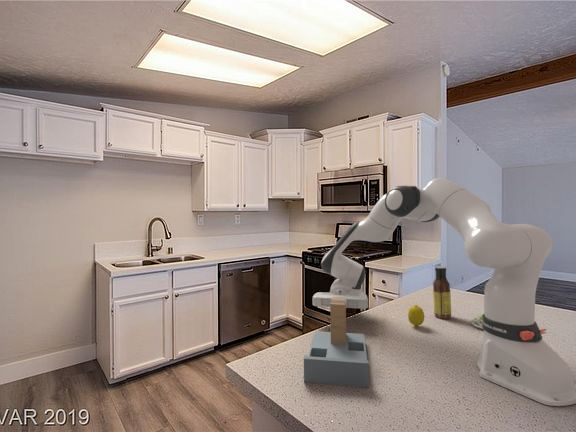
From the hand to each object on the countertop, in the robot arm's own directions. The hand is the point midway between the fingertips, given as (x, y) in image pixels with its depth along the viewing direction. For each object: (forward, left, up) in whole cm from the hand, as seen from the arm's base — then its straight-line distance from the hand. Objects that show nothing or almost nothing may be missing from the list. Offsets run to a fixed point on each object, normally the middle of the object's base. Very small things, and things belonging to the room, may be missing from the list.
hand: (339, 306), depth 114 cm
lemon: (-5, -29, -9) cm, 31 cm away
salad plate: (-16, -57, -10) cm, 60 cm away
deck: (-18, +10, -9) cm, 22 cm away
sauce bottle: (0, -46, -9) cm, 47 cm away
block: (-11, +6, -6) cm, 14 cm away
